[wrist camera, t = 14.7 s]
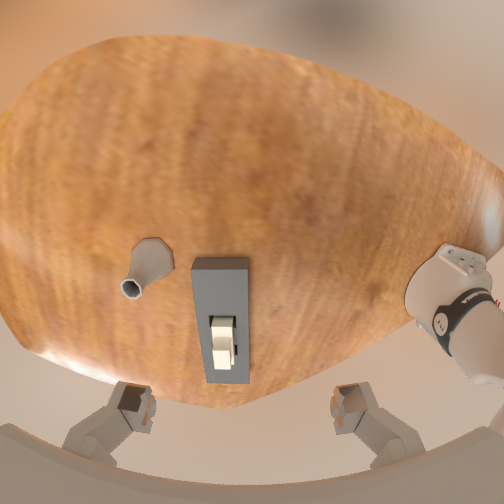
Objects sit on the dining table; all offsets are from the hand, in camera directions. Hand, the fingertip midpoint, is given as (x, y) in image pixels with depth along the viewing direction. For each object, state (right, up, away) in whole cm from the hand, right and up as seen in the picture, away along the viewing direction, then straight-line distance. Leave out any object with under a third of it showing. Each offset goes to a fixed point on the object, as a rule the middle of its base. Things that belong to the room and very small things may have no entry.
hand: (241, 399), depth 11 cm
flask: (-15, +5, +32) cm, 35 cm away
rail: (-4, -6, +36) cm, 37 cm away
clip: (-4, -6, +36) cm, 37 cm away
